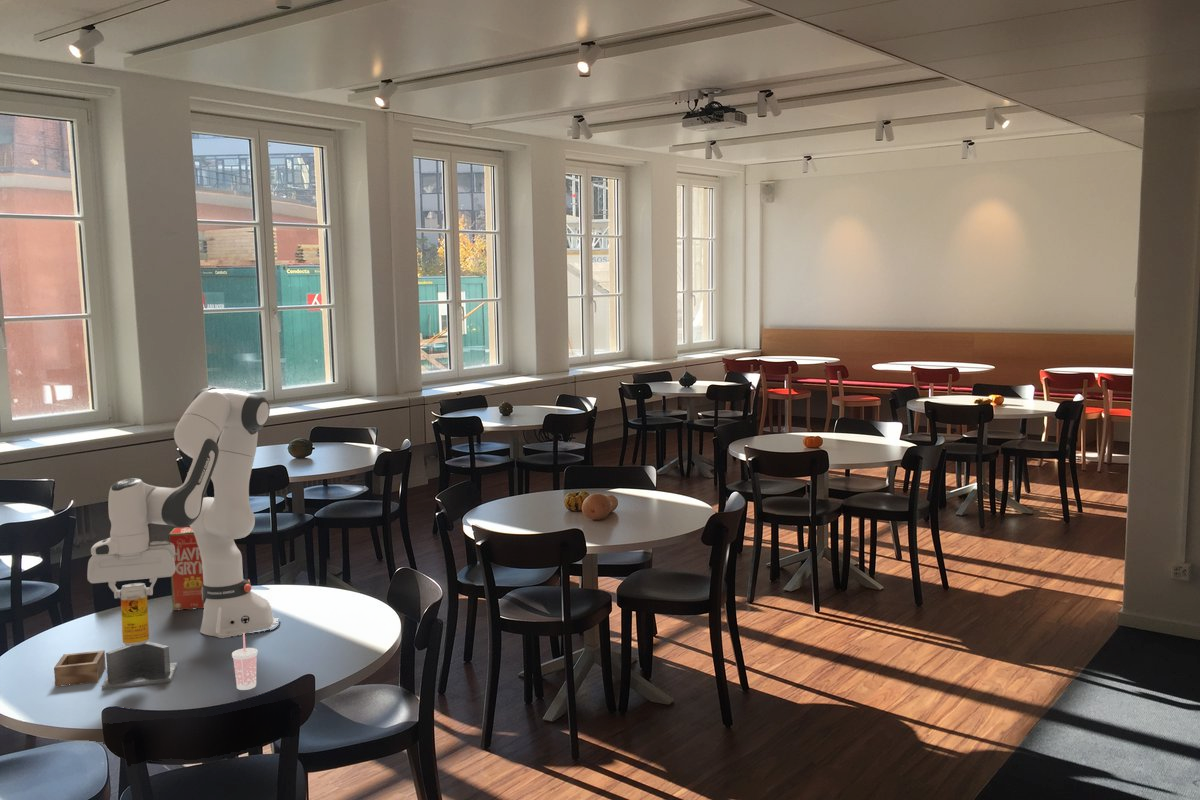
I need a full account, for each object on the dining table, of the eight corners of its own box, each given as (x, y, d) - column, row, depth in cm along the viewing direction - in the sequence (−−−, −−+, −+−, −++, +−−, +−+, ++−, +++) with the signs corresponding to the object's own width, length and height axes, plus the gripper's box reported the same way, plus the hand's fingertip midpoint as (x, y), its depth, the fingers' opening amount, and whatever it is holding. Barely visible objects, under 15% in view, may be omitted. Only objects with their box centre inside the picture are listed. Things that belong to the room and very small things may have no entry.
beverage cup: (262, 681, 250) (259, 628, 249) (255, 690, 244) (252, 636, 243) (238, 682, 250) (235, 628, 248) (230, 691, 244) (227, 637, 242)
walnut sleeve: (105, 668, 261) (104, 650, 260) (97, 682, 251) (96, 663, 251) (64, 672, 258) (63, 654, 257) (55, 686, 249) (54, 667, 248)
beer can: (123, 647, 246) (121, 588, 246) (122, 643, 251) (119, 584, 251) (150, 643, 249) (147, 584, 249) (148, 639, 254) (145, 581, 254)
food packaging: (171, 611, 308) (166, 533, 306) (178, 602, 317) (173, 526, 315) (216, 608, 311) (211, 531, 308) (221, 599, 320) (217, 524, 317)
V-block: (176, 665, 262) (175, 637, 261) (170, 681, 251) (168, 651, 250) (111, 673, 257) (109, 643, 256) (102, 689, 246) (99, 659, 245)
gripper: (176, 537, 254) (179, 588, 256) (89, 543, 249) (93, 596, 250) (172, 542, 248) (176, 595, 250) (83, 549, 243) (87, 603, 244)
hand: (133, 596), depth 250 cm, fingers closed on beer can, 6 cm apart
